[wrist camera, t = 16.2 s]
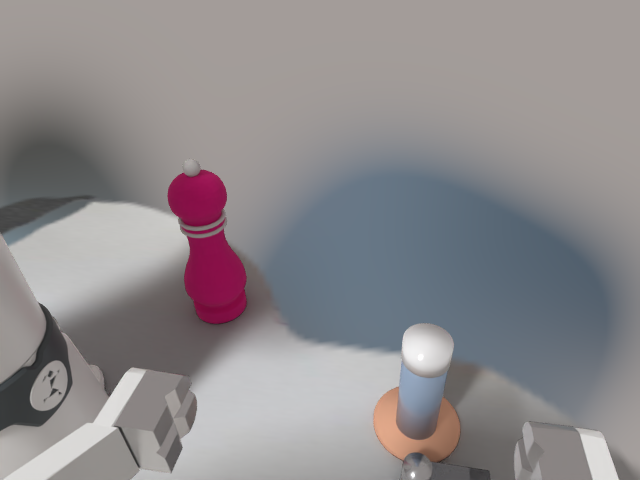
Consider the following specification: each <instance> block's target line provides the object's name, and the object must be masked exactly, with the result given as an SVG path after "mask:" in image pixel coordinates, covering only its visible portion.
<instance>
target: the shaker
mask: <svg viewBox="0 0 640 480" xmlns="http://www.w3.org/2000/svg"><path fill="white" fill-rule="evenodd" d="M453 349H454V342H453V339H452V337H451V336H450V334H449V333H448V332H447V331H445V330H444V329H443V328H441V327H439V326H437V325H433V324H428V323H427V324H426V323H422V324H416V325H413V326H411V327H410V328H408V329H407V330H406V332H405V333H404V336H403V343H402V353H401V359H402V364H401V374H400V383H399V392H398V402H397V411H396V424H397V427H398V429H399V430H400V431H401V432H402V433H403V434H404V435H405V436H407V437H408V438H411V439H414V440H424V439H427V438H429V437H431V436H432V435H433V434H434V432H435V431H436V427H437V422H438V417H439V412H440V407H441V402H442V397H443V392H444V387H445V382H446V377H447V372H448V369H449V367H450V364H451V359H452V354H453Z"/></svg>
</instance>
